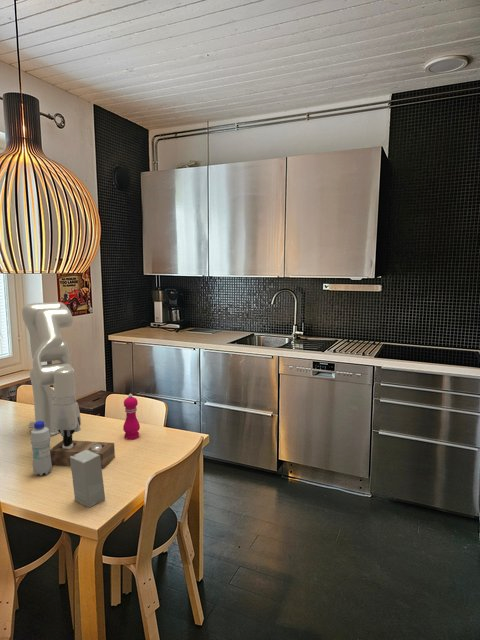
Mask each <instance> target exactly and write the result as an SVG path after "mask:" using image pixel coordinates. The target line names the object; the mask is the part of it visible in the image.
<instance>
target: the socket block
mask: <svg viewBox="0 0 480 640" xmlns="http://www.w3.org/2000/svg"><path fill="white" fill-rule="evenodd" d="M72 443H73V447H72V448H71V449H66V448H63V447H62V445H63V444H64V443H63V439H62V440H61V441H59V442H58V443H57V444H56V445H54V446H53V447H50V456H51V463H52V466H54V465H56V467H57V466H59V467H69V468H71V463H70V456H73V455H75V454H78V453H80V452H82V451H85V450H89V451H91V452H94V453H96V454H98V455H100V459H101V468H102V470H105V468H106V467H107V466H108V465H109V464H110V463H111V462H112V461H113V460H114V459H115V457H116V455H115V454H116V453H115V452H116V451H115V450H116V449H115V442H107V441H103V442H102V441H89V440H88V441H87V440H73V439H72ZM96 444H100V445H102V449H101V450H100V451H97V450H91V446H93V445H96Z"/></svg>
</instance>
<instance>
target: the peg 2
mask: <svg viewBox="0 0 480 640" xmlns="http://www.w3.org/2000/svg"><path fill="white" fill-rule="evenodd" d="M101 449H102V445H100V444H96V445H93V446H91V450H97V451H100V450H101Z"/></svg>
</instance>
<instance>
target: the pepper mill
mask: <svg viewBox="0 0 480 640" xmlns="http://www.w3.org/2000/svg"><path fill="white" fill-rule="evenodd" d="M123 406H124V407H125V408H124V410H125V411H124V412H125V413H126V414H125V416H126V418H125V421H124V423H123V428H122V430H123V432H124V439H126V440H130V441H131V440H137V439H138V438H139V437H140V433H139V431H140V428H141V424H140V423H139V420H138V418H137V414H136V413H137V406H138V400H137V398H136V397H134V396H133V394H132V393H129V394H128V397H126V398H125V399H124V401H123Z"/></svg>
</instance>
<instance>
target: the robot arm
mask: <svg viewBox="0 0 480 640" xmlns="http://www.w3.org/2000/svg"><path fill="white" fill-rule="evenodd" d="M21 314H22V320H23V322H24V325H25V326H26V328H27V330H28V331H27V332H28V334H29V335H28V336H29V343H30V344H29V345H30V351H31V352H30V354H31V358H32V368H31V370H30V372H29V379H30V382H31V386H32V393H33V394H32V395H33V407H34V421H35V422H34V421H30V422H29V423H28V428H30V429H35V428H34V424H35V423H36V422H37V421H43V422H44V425H45V427H47V428H48V429H49V433H50V437H52V436H56V435H57V434H60V435H61V437H62V440H63V443H64V446H69V445H71V444H72V440H73V434H74V433H78V432H80V431H81V430H82V428H81V423H82V421H81V412H80V407H79V403H78V402H77V398H76V381H75V380H76V379H75V369H74V368H73V366H72V362H71V354H70V346H69V344H68V342H67V340H66V339H63V335H62V332H61V329H63V328H69V327H71V326H72V324H73V315H72V312H71V310H70V309H69V308H68V306H67V305H66V304H65V303H63V302H61V301H55V302H54V301H51V302H33V303H29V304H26V305H24V306H23V307H22V309H21ZM54 361H58V363H57V362H56V363H48V364H42V363H47V362H54ZM50 386H53V388H52V387H50Z"/></svg>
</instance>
